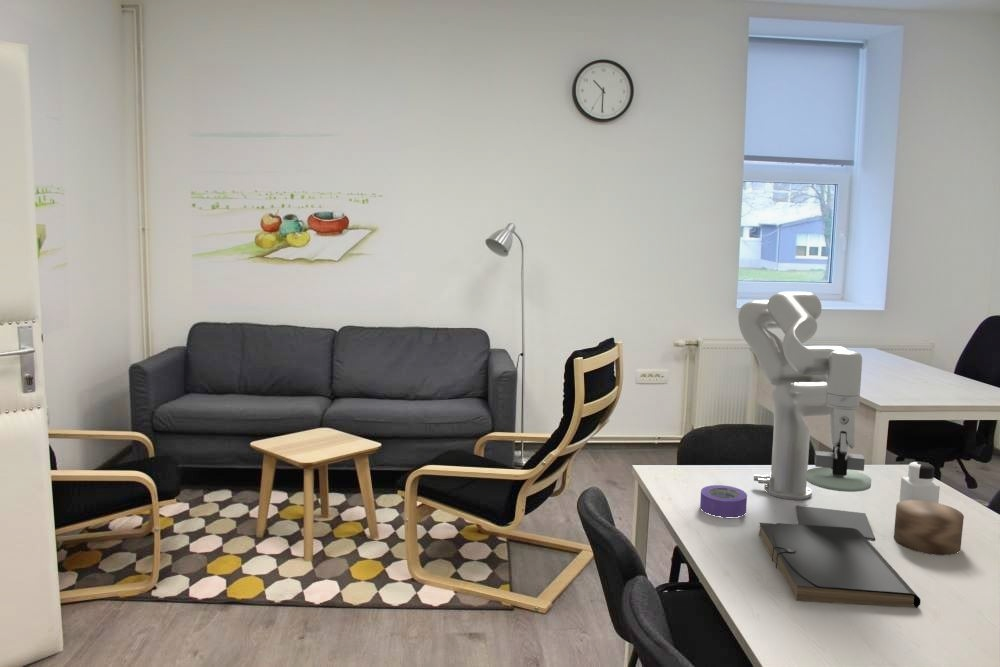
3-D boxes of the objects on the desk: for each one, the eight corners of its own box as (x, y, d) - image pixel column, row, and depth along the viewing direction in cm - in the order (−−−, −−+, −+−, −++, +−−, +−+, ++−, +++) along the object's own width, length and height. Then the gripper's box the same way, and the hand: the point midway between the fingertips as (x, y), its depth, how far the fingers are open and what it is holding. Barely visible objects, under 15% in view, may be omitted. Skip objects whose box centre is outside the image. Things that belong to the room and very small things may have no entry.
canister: (899, 550, 179) (902, 517, 178) (889, 528, 192) (891, 497, 191) (967, 558, 175) (971, 525, 174) (952, 535, 188) (955, 504, 187)
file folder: (758, 520, 187) (861, 527, 184) (757, 536, 187) (860, 543, 185) (795, 583, 154) (921, 592, 152) (793, 603, 155) (919, 612, 152)
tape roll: (729, 522, 195) (730, 503, 195) (691, 509, 204) (691, 491, 203) (754, 511, 203) (755, 493, 202) (716, 499, 212) (717, 481, 211)
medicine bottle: (926, 502, 210) (930, 460, 209) (938, 512, 203) (942, 468, 202) (898, 501, 211) (902, 459, 209) (909, 510, 204) (913, 467, 202)
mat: (799, 531, 190) (799, 529, 190) (795, 507, 206) (795, 505, 206) (875, 540, 185) (875, 538, 185) (865, 515, 201) (865, 513, 201)
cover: (875, 494, 184) (877, 466, 183) (807, 488, 188) (809, 460, 187) (866, 476, 198) (867, 449, 197) (803, 470, 202) (805, 444, 202)
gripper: (864, 408, 181) (859, 483, 184) (854, 395, 197) (850, 464, 200) (829, 406, 184) (825, 480, 186) (823, 393, 200) (819, 461, 202)
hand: (838, 471), depth 193 cm, fingers closed on cover, 4 cm apart
